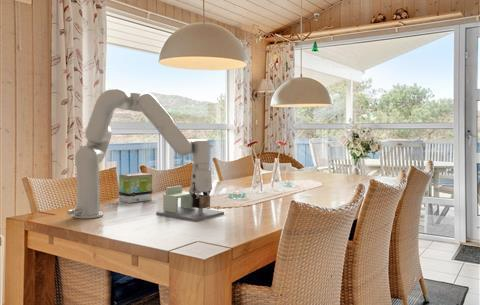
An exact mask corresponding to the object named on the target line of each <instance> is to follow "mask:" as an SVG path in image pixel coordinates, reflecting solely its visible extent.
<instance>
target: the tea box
mask: <svg viewBox="0 0 480 305" xmlns="http://www.w3.org/2000/svg"><path fill="white" fill-rule="evenodd" d="M118 179H119V181H118V202H122V203H127V204H131V203H136V202H137V203H139V202H146V201H152V197H153V196H152V195H153V194H152V193H153V174H152V173H147V172H146V173H145V172H134V173H123V174H121V173H120V174H119V178H118Z"/></svg>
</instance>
